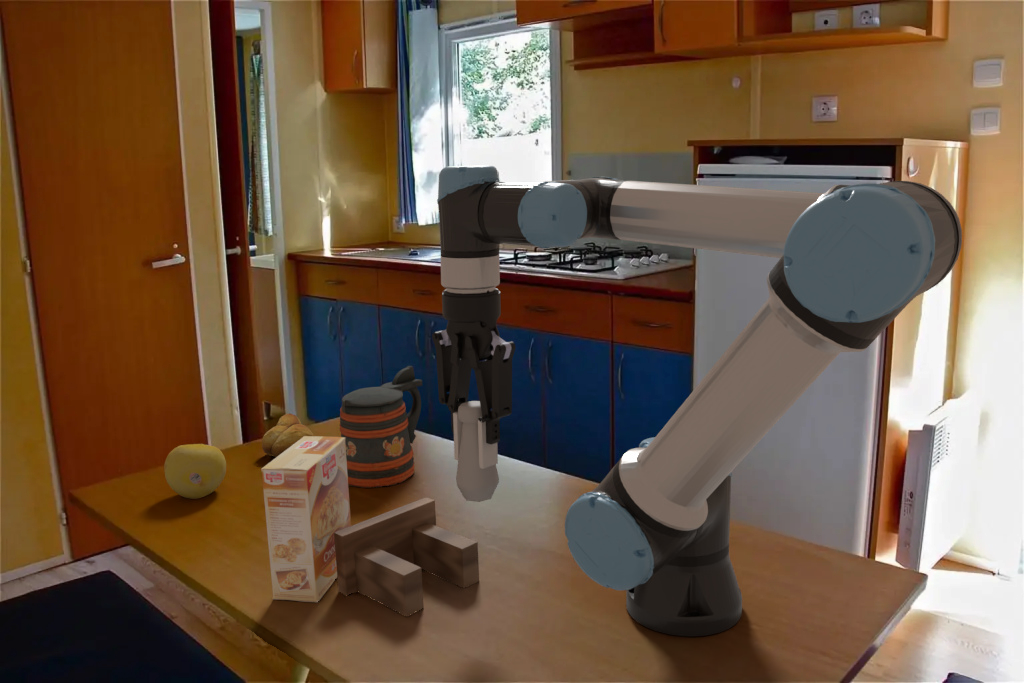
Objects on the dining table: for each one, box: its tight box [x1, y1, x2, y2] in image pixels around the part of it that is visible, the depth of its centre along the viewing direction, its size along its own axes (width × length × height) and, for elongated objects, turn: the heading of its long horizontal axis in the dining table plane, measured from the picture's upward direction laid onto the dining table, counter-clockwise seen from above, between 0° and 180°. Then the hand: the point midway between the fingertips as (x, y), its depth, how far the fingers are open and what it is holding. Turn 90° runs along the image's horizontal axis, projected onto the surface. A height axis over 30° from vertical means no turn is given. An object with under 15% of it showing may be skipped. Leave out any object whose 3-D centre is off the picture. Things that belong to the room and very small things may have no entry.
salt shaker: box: [455, 400, 500, 503], centre depth 118 cm, size 6×6×13 cm
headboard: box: [334, 496, 480, 617], centre depth 126 cm, size 13×17×9 cm
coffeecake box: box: [260, 435, 352, 603], centre depth 129 cm, size 15×7×20 cm, turn 170°
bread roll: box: [261, 413, 314, 458], centre depth 185 cm, size 13×10×8 cm
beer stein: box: [339, 365, 423, 489], centre depth 172 cm, size 19×15×20 cm
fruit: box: [164, 443, 227, 500], centre depth 164 cm, size 10×11×10 cm
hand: (476, 460), depth 118 cm, fingers closed on salt shaker, 4 cm apart
